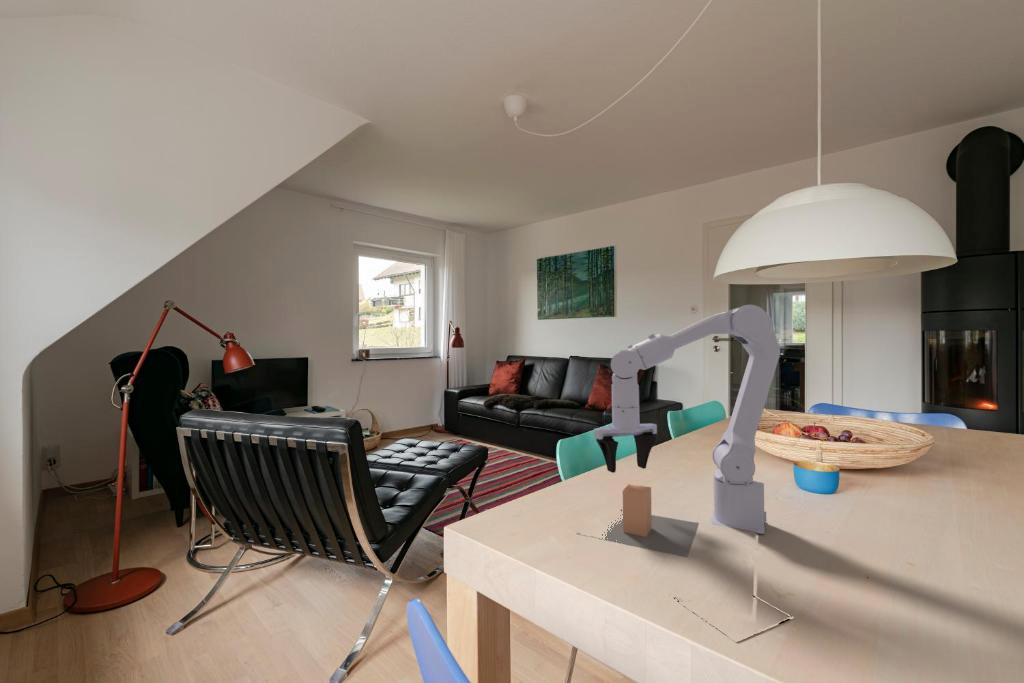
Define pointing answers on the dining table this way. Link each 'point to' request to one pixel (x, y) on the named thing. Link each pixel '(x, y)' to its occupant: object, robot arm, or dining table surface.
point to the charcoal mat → (658, 536)
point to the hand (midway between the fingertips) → (626, 469)
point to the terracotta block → (637, 510)
